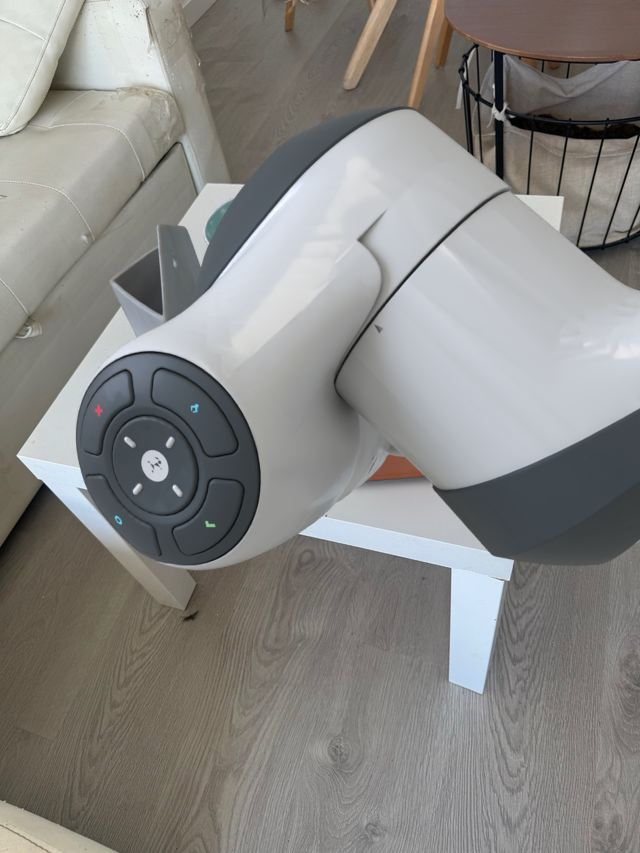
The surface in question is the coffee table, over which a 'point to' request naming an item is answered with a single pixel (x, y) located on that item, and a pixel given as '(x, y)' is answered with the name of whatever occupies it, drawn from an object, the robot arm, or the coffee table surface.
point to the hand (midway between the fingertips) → (367, 401)
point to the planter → (159, 280)
